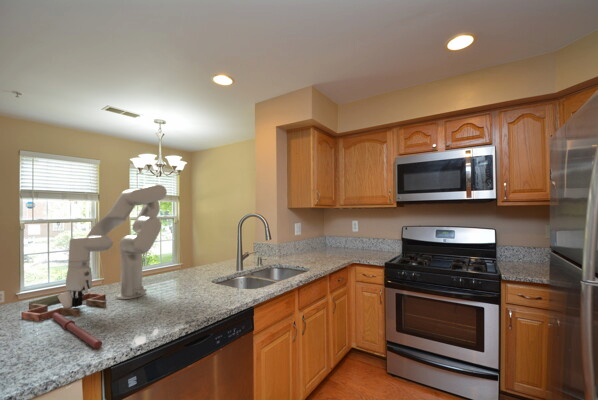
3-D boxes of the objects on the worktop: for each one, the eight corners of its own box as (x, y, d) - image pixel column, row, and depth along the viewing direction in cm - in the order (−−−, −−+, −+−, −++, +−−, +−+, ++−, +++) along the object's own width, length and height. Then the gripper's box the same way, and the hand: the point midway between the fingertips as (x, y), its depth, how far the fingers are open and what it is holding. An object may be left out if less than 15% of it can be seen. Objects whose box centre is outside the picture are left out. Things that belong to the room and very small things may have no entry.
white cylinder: (85, 300, 122) (79, 286, 122) (70, 306, 115) (64, 292, 116) (75, 306, 123) (69, 292, 124) (59, 312, 116) (53, 298, 117)
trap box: (121, 301, 129) (121, 294, 129) (56, 324, 103) (56, 315, 103) (76, 296, 138) (76, 289, 138) (6, 315, 113) (6, 307, 113)
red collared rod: (49, 320, 108) (50, 312, 108) (60, 317, 110) (60, 310, 110) (92, 352, 82) (92, 342, 83) (104, 347, 85) (104, 338, 85)
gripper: (100, 263, 120) (98, 305, 119) (76, 262, 124) (74, 302, 123) (82, 266, 113) (80, 310, 112) (57, 265, 117) (55, 307, 116)
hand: (77, 306), depth 117 cm, fingers closed
